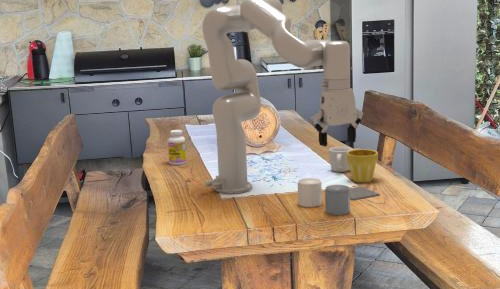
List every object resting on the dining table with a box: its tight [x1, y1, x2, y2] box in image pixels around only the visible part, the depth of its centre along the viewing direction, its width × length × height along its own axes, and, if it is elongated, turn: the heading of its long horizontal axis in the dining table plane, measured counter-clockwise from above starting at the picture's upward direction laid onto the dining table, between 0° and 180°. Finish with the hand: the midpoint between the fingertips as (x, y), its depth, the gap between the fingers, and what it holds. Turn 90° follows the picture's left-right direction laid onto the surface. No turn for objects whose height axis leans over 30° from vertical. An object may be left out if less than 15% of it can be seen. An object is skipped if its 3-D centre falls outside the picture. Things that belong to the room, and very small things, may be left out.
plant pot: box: [347, 148, 379, 184], centre depth 246 cm, size 10×10×10 cm
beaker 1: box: [297, 177, 323, 208], centre depth 222 cm, size 7×7×7 cm
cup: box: [328, 146, 352, 173], centre depth 258 cm, size 11×8×8 cm
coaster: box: [349, 186, 380, 201], centre depth 231 cm, size 10×10×1 cm
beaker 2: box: [324, 184, 351, 216], centre depth 213 cm, size 7×7×7 cm
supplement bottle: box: [167, 129, 187, 166], centre depth 279 cm, size 7×7×13 cm
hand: (337, 143), depth 210 cm, fingers open, 9 cm apart
